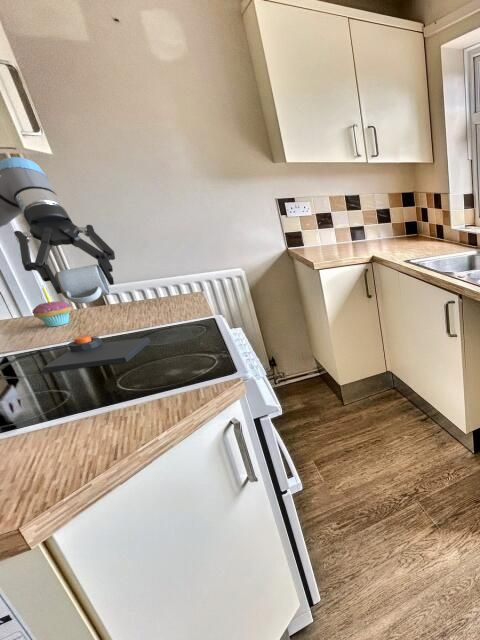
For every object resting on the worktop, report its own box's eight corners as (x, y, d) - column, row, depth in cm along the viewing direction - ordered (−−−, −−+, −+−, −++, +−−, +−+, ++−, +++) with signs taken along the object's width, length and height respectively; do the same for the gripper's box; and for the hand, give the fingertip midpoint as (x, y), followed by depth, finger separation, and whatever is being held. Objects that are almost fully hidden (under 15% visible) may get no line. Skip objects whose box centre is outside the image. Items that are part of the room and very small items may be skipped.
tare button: (73, 345, 108) (71, 339, 107) (80, 341, 111) (78, 335, 110) (88, 343, 109) (86, 338, 108) (94, 339, 111) (92, 334, 111)
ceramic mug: (68, 296, 106) (54, 266, 102) (111, 290, 110) (99, 261, 107) (62, 307, 98) (47, 275, 95) (109, 300, 103) (96, 269, 100)
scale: (44, 373, 99) (39, 361, 98) (80, 349, 112) (75, 338, 111) (127, 362, 104) (122, 351, 103) (152, 340, 117) (148, 330, 116)
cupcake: (41, 324, 132) (23, 286, 127) (78, 317, 137) (62, 281, 132) (38, 331, 126) (19, 292, 121) (77, 323, 131) (60, 286, 126)
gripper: (103, 219, 114) (142, 285, 111) (-17, 228, 98) (24, 305, 96) (100, 199, 109) (141, 267, 106) (-27, 206, 93) (16, 286, 91)
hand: (86, 285), depth 101 cm, fingers closed on ceramic mug, 9 cm apart
